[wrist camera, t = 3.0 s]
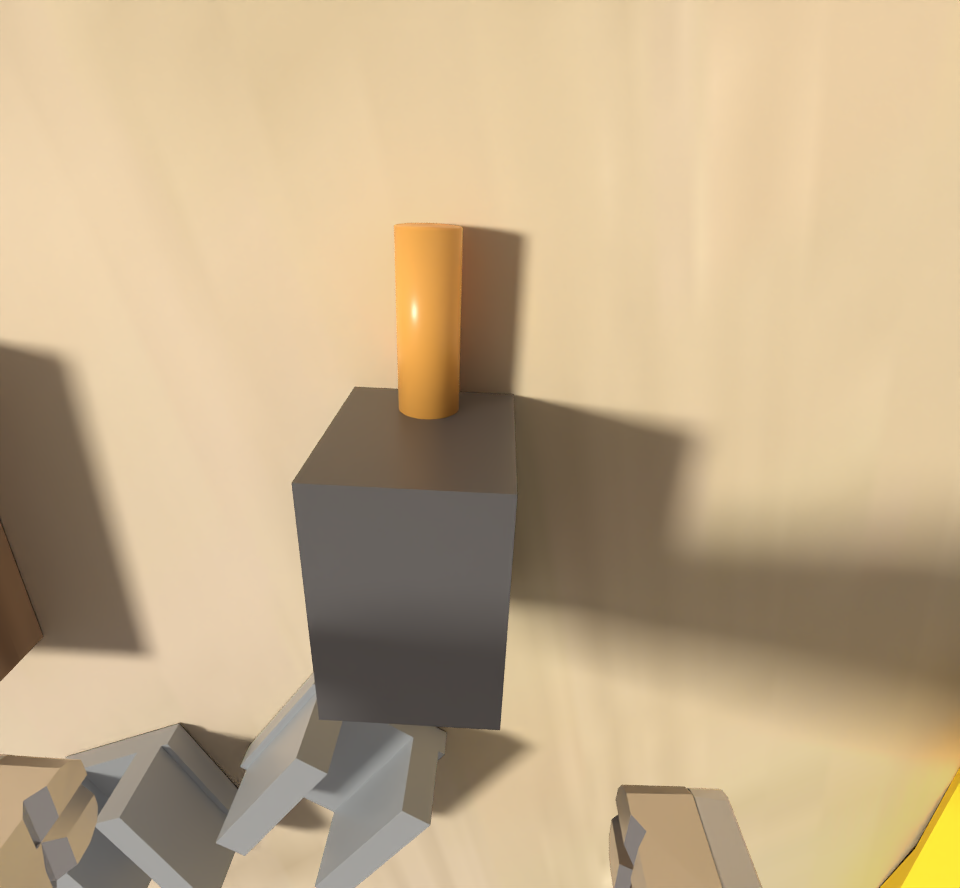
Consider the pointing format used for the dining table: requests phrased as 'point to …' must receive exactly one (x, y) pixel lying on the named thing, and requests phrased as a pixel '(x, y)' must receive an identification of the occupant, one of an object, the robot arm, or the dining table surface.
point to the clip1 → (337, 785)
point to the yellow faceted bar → (935, 849)
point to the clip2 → (154, 815)
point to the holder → (14, 613)
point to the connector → (412, 522)
